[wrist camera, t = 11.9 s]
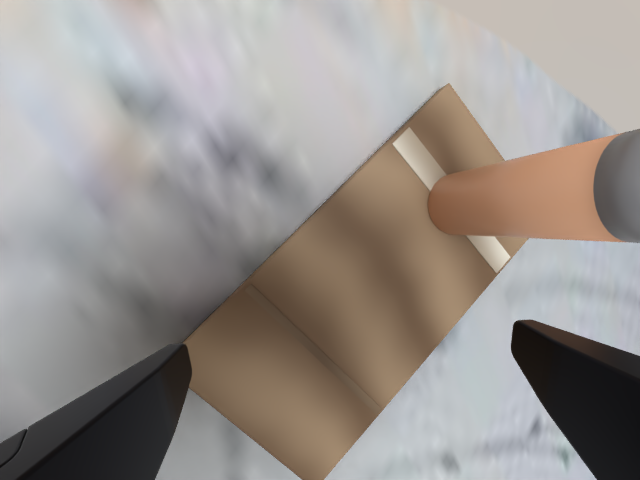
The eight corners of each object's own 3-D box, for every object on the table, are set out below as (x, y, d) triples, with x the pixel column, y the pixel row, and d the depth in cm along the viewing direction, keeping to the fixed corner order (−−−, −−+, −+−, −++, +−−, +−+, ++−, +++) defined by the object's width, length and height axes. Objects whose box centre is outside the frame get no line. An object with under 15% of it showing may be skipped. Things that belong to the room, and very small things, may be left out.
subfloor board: (311, 477, 20) (315, 491, 19) (166, 358, 18) (162, 366, 17) (533, 218, 24) (547, 217, 23) (439, 89, 22) (450, 82, 21)
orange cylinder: (467, 244, 21) (696, 262, 11) (419, 220, 20) (618, 214, 10) (488, 189, 22) (732, 154, 11) (441, 163, 21) (660, 97, 10)
